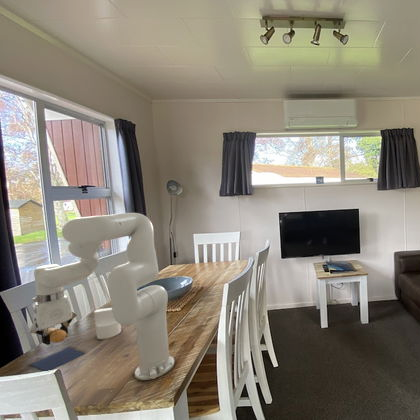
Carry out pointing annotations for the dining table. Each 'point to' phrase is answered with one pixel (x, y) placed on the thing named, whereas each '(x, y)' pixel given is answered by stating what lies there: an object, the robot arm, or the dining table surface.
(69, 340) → the dining table surface
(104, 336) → the base with upright slab
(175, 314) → the dining table surface
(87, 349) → the dining table surface
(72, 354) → the napkin
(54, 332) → the bread roll
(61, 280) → the robot arm
